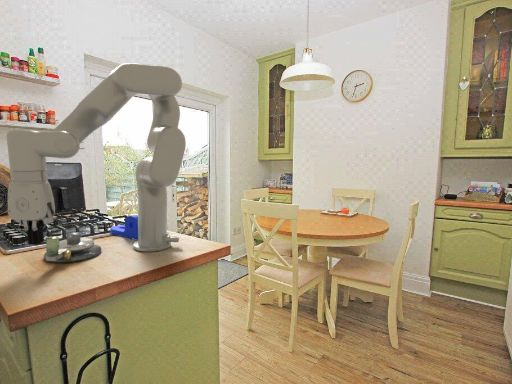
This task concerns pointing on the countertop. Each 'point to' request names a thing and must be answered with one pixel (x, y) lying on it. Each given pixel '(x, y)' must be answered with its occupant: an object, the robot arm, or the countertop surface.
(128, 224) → the bracket
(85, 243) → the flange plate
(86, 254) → the post base
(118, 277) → the countertop surface
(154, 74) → the robot arm
